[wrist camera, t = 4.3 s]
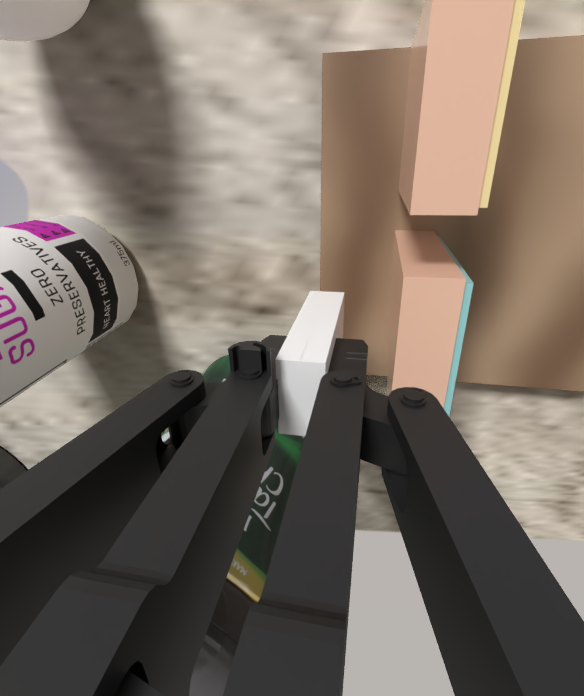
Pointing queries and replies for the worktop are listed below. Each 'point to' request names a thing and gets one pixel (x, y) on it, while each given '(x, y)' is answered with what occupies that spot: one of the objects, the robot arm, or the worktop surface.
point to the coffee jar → (245, 557)
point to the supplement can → (58, 295)
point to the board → (465, 230)
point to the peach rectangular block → (425, 315)
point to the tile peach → (457, 103)
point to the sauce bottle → (38, 18)
